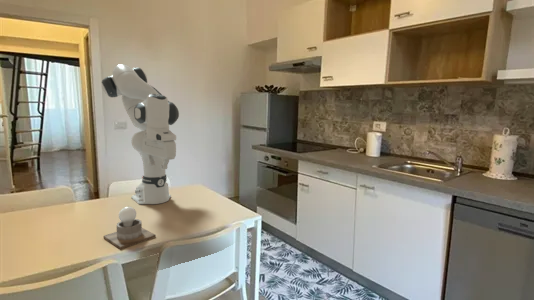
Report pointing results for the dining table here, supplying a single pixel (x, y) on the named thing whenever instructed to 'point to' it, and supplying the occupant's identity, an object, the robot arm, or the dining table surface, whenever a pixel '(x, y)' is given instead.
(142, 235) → the socket base
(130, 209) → the lightbulb
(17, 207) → the dining table surface
